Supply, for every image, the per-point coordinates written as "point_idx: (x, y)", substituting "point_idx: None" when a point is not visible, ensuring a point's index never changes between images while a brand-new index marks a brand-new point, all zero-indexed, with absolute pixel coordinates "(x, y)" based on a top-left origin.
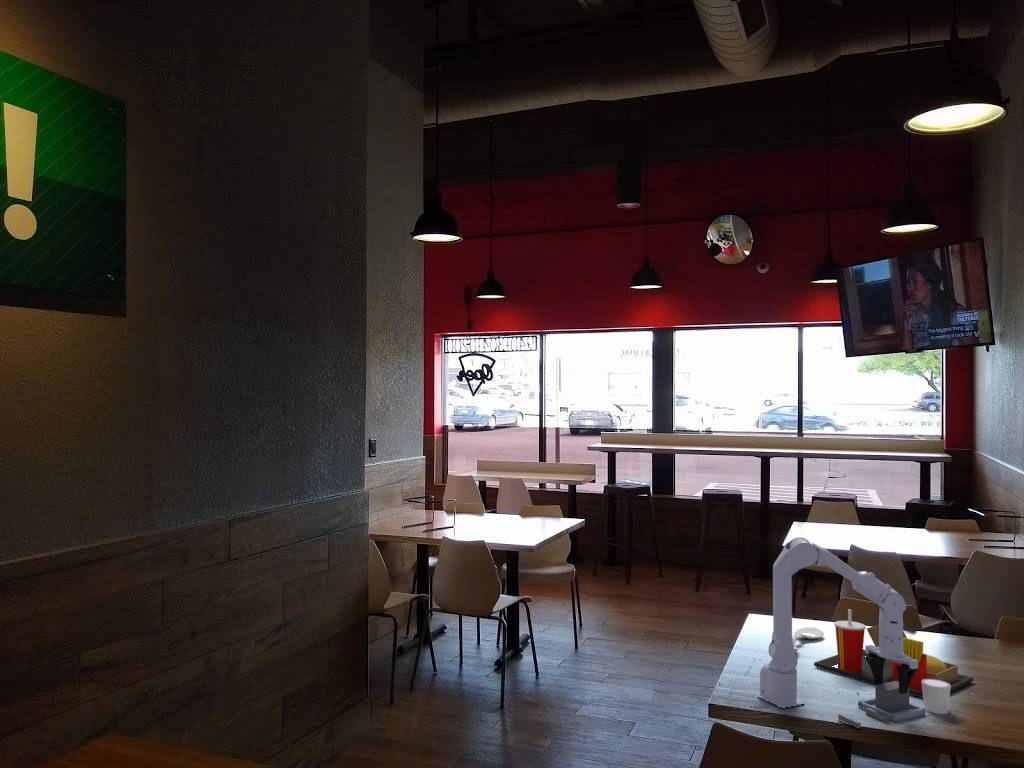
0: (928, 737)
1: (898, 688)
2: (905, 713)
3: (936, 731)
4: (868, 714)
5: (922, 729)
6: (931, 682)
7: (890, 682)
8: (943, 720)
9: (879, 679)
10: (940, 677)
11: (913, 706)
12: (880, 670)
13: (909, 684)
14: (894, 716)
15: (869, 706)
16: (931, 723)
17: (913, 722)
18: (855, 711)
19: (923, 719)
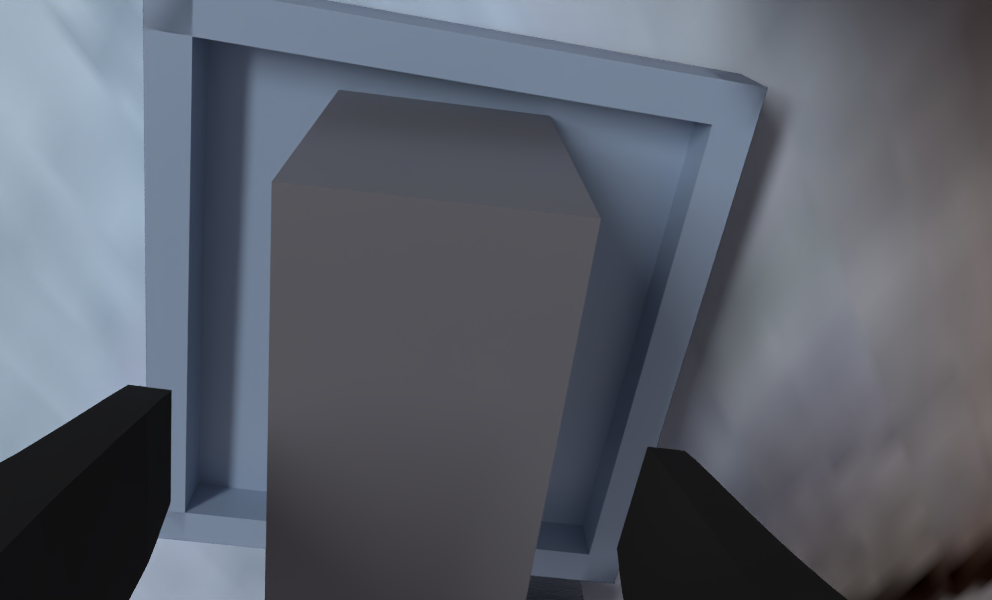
0: (956, 579)
1: (546, 493)
2: (661, 427)
3: (979, 416)
4: None
5: (863, 476)
6: None
7: (284, 353)
8: (964, 51)
9: (141, 498)
10: None
11: (603, 102)
12: (45, 588)
13: (769, 540)
14: (617, 564)
15: None
16: (882, 267)
17: (736, 395)
18: (242, 594)
19: (778, 231)
